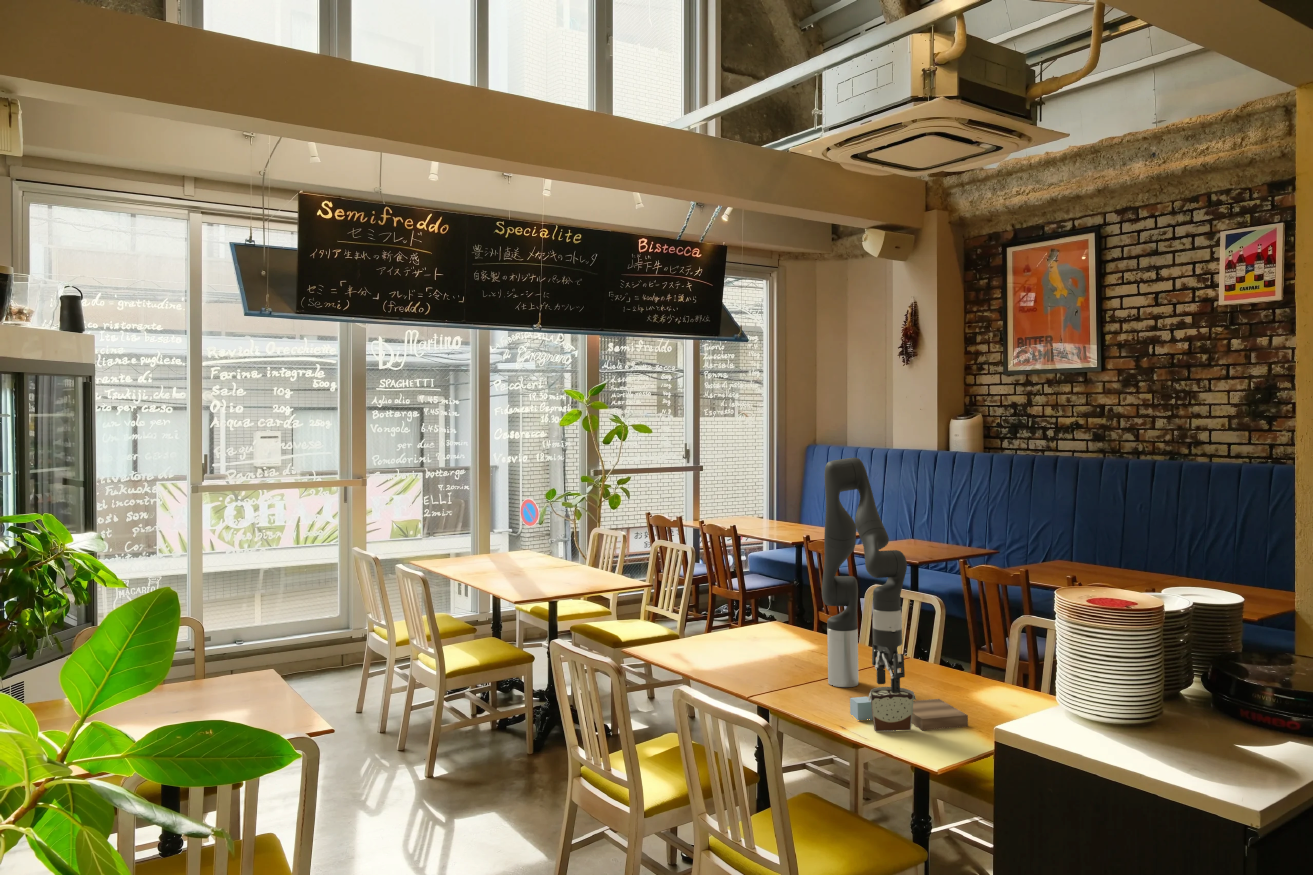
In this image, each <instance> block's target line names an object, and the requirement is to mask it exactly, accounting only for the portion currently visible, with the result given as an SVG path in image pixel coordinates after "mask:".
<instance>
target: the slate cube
mask: <svg viewBox="0 0 1313 875" xmlns="http://www.w3.org/2000/svg"><path fill="white" fill-rule="evenodd" d="M868 698H869V696H857V697H849V705H850V706H849V710H850V711H849V712H850V714H851V715H853V716H854V717H855V718H856V719H857V720H867V719H868V720H869V719H870V720H869V721H873V714H872V705H871V698H870V701H869V700H868ZM850 714H849V715H850ZM857 720H856V721H857Z"/></svg>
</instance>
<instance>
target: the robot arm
mask: <svg viewBox="0 0 1313 875" xmlns="http://www.w3.org/2000/svg"><path fill="white" fill-rule="evenodd" d="M866 469H867V468H866V467H865V465H864V463H863V461H862V460H861V459H860V458H858V457H849V458H847V457H846V458H841V459H835V460H829V461H828V462H826V465H825V467H824V492H825V494H824V495H825V520H824V523H825V524H824V540H823V541H824V545H823V546H824V547H823V548H824V561H823V563H824V564H823V574H822V580H821V581H822V582H821V584H822V585H821V598H822V602H823V603H824V605H826V606H828V607H846V608H845V609H844V610H843V611H842V612H840V613H837V614H836V615H832V616H830V617H829V618H827V622H826V624H827V625H826V626H827V627H826V630H827V636H826V637H827V680H828V682H827V683H828V685H830V686H832V685H833V687H839V688H852V687H856V686H858V685H859V642H858V641H859V637H858V636H859V634H858V632H859V629H858V625H859V624H858V602H859V588H858V587H859V586H858V580H857V579H856V577H855V576H854V575H853V576H850V575H840V576H839V575H836V574H837V572H838V570H839V569H840V567H841V566H842V565H843V564H844V562H845V561H846V560H848V558H849V557H850V556H851V555H852V553H853V552H854V550H855V549H856V548H855V547H856V545H857V544H856V543H857V542H856V541H857V534H858V536H859V538H860V541H861V543H862V546H863V547H862V548H863V553H864V563H865V564H864V565H865V570H866V571H867V573H868V574H869V576H871V577H872V578H875V579H883V578H887V580H886V582H885V583H884V584H882V585H879V586H876V587H875V588H874V589H873V592H872V610H873V611H872V647H871V648H872V649H871V656H872V657H871V659H872V660H871V664H872V666H874V668H875V670H876V683H877V684H878V685H885V684H886V670H887V671H888V672H889V674H890V687H891V692H892V693H899V692H900V688H901V678H905V674H906V673H905V655H904V653H898V647H900V646H901V645H903V620H902V618H903V617H902V610H901V608H902V607H901V605H902V604H901V595H902V591H903V590H902V589H903V585H904V581H905V577H906V574H907V569H908V563H907V562H908V561H907V559H906V556H905V554H904V553H903V552H902V551H901V550H897V549H890V550H882V549H883V548H885V547H887V546H888V543H889V542H890V538H889V535H888V532H887V530H886V528H885V525H884V524H883V521H882V519H881V516H880V514H879V512H878V508H877V504H876V502H875V498H874V493H873V490H872V486H871V483H870V480H869V476H868V473H867V470H866ZM855 490H857V491H858V493H859V502H858V506H857V510H856V512H855V518H854V519H853V518H852V516H851V514H849V512H848V511H847V510H846V509H845V507H844V505H843V504H842V503H841V501H840V500H841V499H840V493H841V492H849V491H855Z"/></svg>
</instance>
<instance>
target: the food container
mask: <svg viewBox="0 0 1313 875" xmlns="http://www.w3.org/2000/svg"><path fill="white" fill-rule="evenodd" d="M868 697H869V698H868V700H869V701H870V699H871V705H872V714H873V720H872V721H873V729H874V730H873V731H874V732H875V731H883V732H897V731H896V730H912V711H913V701H916V700H917V699H916V694H915V692H914V691H913V690H911V689H907V688H906V687H905V688H904V687H900V692H899V693H892V692H891V686H880V687H874V688H872V689H870V692H869V693H868ZM893 730H894V731H893Z"/></svg>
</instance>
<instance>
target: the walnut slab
mask: <svg viewBox="0 0 1313 875" xmlns="http://www.w3.org/2000/svg"><path fill="white" fill-rule="evenodd" d="M911 725H913V726H915V727H917V728H918V729H920V730H921V731H932V730H945V729H957V728H966V727H969V714H967V713H966V712H963V711H961V710H959V709H958V708H956V707H954V706H953V705H951V704H949V703H947V702H945V701H944V700H942V699H941V698H934V699H933V698H930V699H916V700H913V711H912V723H911Z"/></svg>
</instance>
